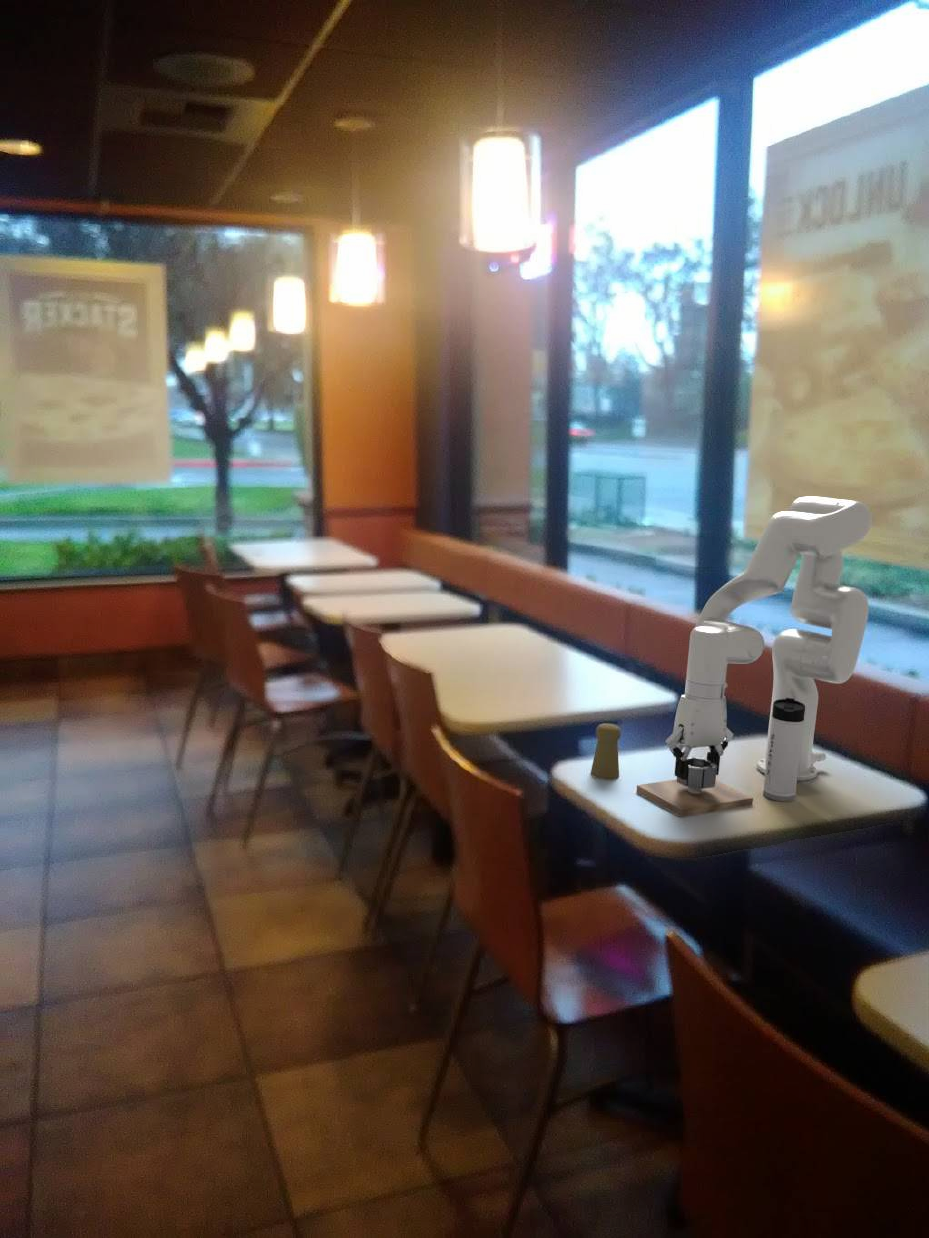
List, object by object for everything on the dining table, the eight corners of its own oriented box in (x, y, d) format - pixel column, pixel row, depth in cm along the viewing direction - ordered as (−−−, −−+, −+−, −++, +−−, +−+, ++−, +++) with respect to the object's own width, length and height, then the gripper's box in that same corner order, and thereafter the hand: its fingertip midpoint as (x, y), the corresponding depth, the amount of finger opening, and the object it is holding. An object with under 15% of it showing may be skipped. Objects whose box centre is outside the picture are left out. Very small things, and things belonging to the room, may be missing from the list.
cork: (618, 781, 213) (622, 730, 211) (589, 777, 214) (593, 727, 212) (620, 771, 219) (624, 722, 217) (591, 768, 220) (595, 719, 218)
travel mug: (795, 793, 211) (806, 699, 207) (794, 803, 205) (805, 707, 201) (763, 788, 213) (774, 695, 209) (762, 798, 207) (772, 703, 203)
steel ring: (698, 773, 209) (700, 754, 209) (723, 785, 203) (724, 766, 202) (669, 778, 206) (671, 759, 205) (693, 790, 200) (695, 770, 199)
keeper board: (705, 781, 215) (708, 753, 214) (752, 804, 203) (755, 774, 202) (636, 792, 207) (639, 762, 206) (681, 817, 195) (684, 785, 194)
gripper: (725, 681, 208) (717, 764, 212) (657, 688, 200) (649, 774, 204) (751, 691, 202) (742, 776, 205) (682, 698, 194) (673, 787, 197)
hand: (696, 774), depth 204 cm, fingers closed on steel ring, 7 cm apart
